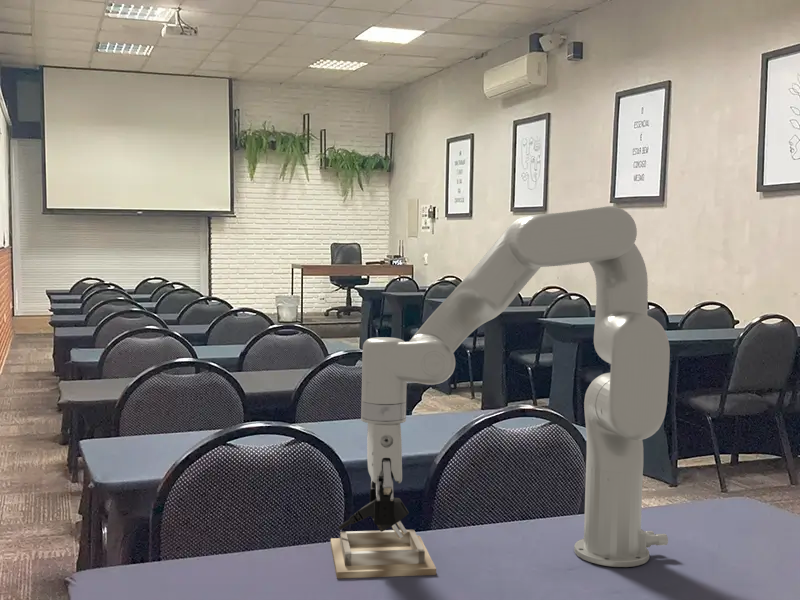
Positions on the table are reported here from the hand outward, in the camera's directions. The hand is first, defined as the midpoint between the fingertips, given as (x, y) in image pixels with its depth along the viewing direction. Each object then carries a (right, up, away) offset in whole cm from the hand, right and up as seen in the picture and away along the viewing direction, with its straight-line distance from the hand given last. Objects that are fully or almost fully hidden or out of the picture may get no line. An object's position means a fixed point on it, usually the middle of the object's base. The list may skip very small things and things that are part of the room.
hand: (381, 516), depth 143 cm
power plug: (-2, -3, +1) cm, 4 cm away
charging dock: (0, -7, 0) cm, 7 cm away
